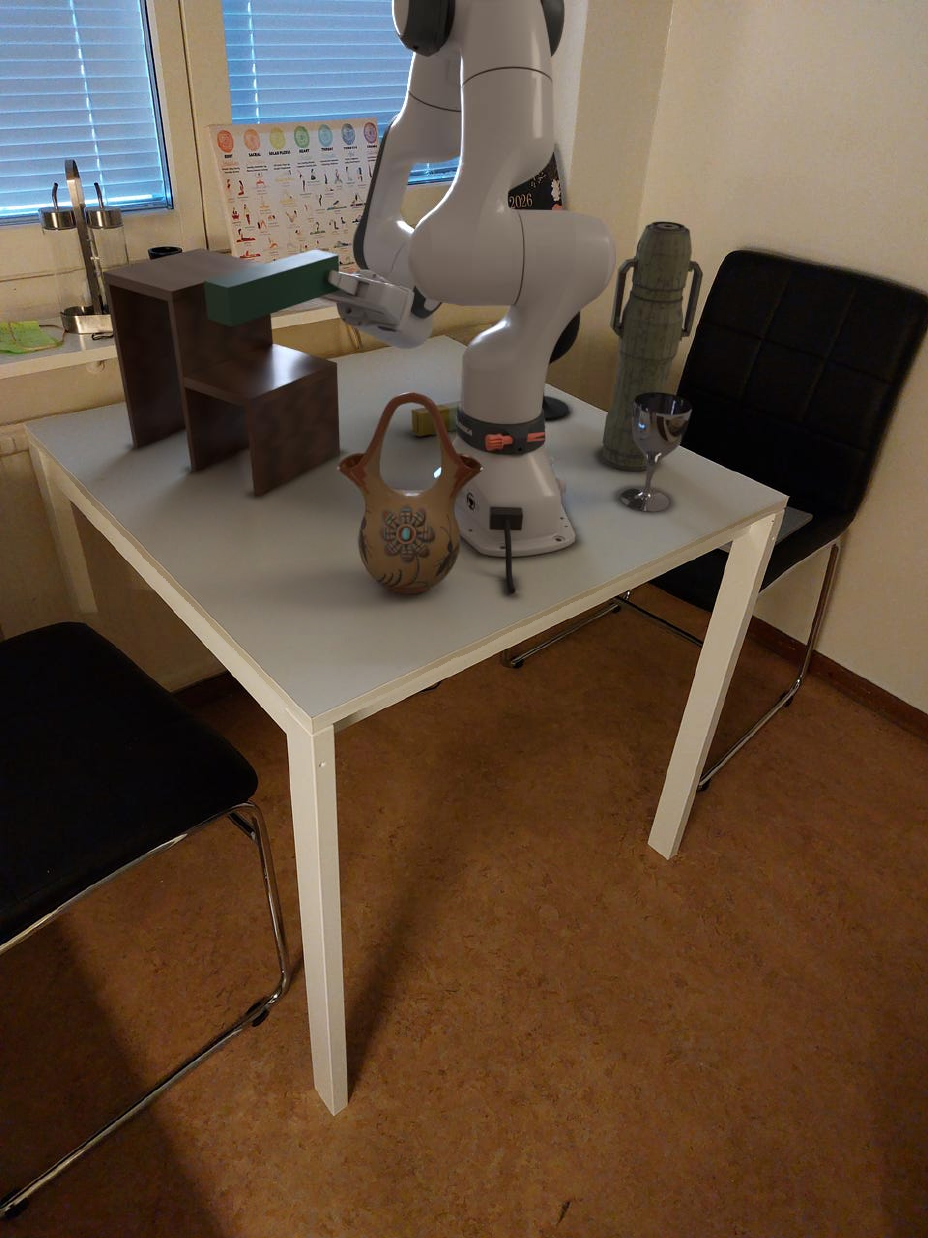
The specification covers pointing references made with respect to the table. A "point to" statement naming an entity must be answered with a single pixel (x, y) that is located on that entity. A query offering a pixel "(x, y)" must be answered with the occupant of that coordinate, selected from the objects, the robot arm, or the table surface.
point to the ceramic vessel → (409, 510)
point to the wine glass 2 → (656, 441)
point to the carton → (269, 287)
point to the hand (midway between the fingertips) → (312, 271)
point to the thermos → (648, 330)
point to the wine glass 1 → (564, 343)
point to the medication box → (424, 422)
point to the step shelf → (217, 373)
